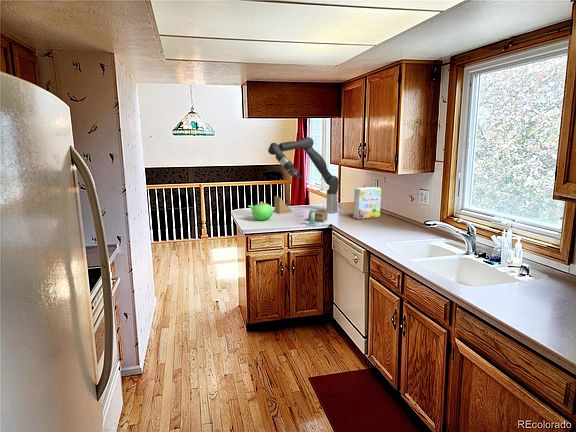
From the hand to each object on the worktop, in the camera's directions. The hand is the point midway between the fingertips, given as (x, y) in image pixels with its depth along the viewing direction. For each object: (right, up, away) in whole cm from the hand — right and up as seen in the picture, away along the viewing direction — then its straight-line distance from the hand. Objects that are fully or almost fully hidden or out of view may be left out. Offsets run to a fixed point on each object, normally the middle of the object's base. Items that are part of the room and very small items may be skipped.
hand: (299, 178), depth 318 cm
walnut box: (+16, -34, +8) cm, 38 cm away
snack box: (+57, -32, +16) cm, 67 cm away
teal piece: (+10, -37, -7) cm, 39 cm away
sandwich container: (-13, -27, +42) cm, 52 cm away
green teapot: (-31, -33, +11) cm, 47 cm away
